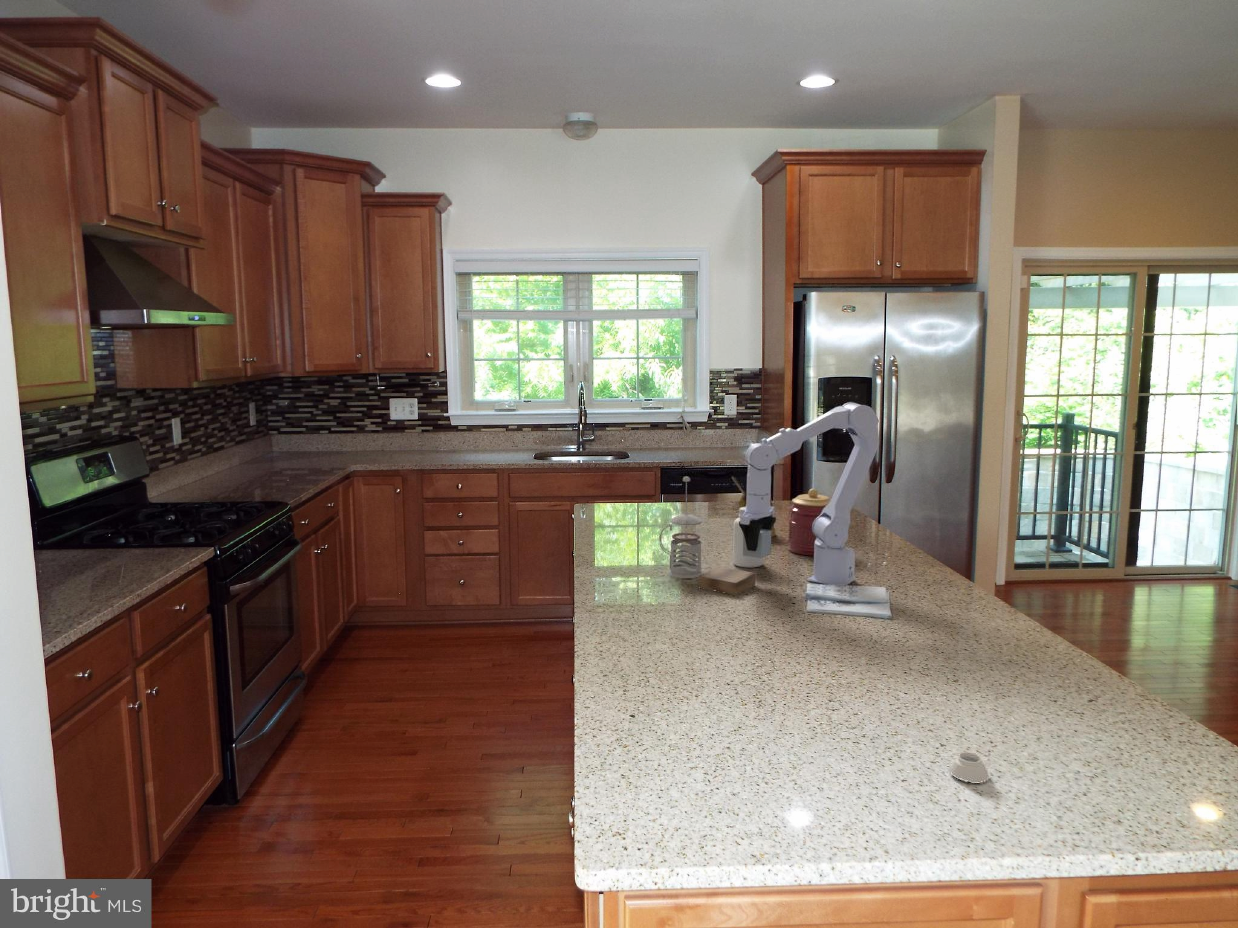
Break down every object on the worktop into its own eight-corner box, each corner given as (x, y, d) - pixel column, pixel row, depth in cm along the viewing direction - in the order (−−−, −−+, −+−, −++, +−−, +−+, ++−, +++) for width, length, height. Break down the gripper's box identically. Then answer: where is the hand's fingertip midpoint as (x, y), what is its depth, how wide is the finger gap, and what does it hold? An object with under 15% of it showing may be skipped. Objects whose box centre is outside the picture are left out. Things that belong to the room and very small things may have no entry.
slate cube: (770, 554, 211) (771, 530, 210) (761, 558, 207) (762, 534, 206) (752, 551, 214) (752, 527, 213) (742, 555, 210) (743, 531, 209)
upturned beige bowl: (955, 764, 123) (944, 778, 119) (956, 744, 122) (945, 758, 118) (992, 775, 120) (982, 790, 116) (993, 755, 119) (983, 769, 115)
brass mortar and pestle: (728, 531, 264) (729, 473, 262) (772, 531, 265) (774, 473, 262) (732, 538, 256) (733, 478, 253) (778, 538, 256) (779, 478, 253)
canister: (831, 545, 247) (833, 484, 244) (838, 557, 234) (840, 493, 231) (785, 544, 248) (787, 484, 245) (789, 556, 235) (791, 492, 233)
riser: (755, 584, 208) (755, 573, 208) (735, 595, 200) (735, 582, 200) (718, 578, 214) (718, 566, 214) (698, 588, 206) (698, 575, 206)
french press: (702, 579, 213) (704, 480, 209) (656, 577, 216) (656, 478, 212) (706, 568, 223) (708, 473, 219) (662, 566, 225) (662, 472, 221)
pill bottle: (762, 560, 231) (763, 505, 228) (764, 568, 223) (765, 512, 220) (732, 559, 231) (733, 505, 229) (733, 567, 224) (734, 511, 221)
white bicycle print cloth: (889, 594, 203) (889, 586, 202) (892, 622, 183) (892, 612, 183) (806, 588, 208) (806, 580, 207) (800, 615, 188) (801, 605, 188)
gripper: (757, 487, 216) (755, 540, 218) (729, 496, 204) (728, 551, 206) (783, 490, 212) (781, 544, 214) (756, 499, 200) (754, 556, 202)
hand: (756, 548), depth 210 cm, fingers closed on slate cube, 5 cm apart
